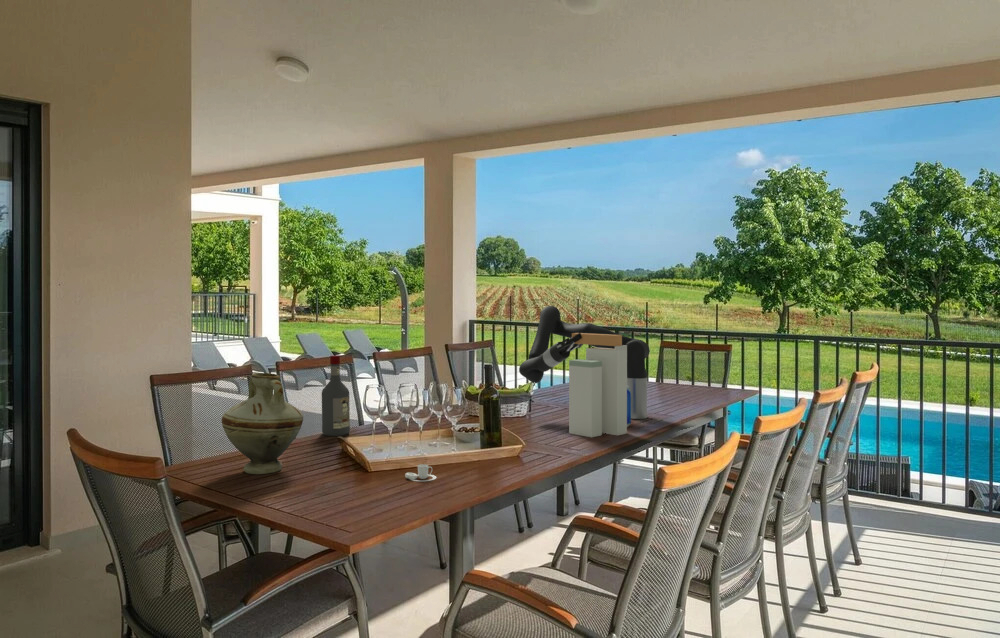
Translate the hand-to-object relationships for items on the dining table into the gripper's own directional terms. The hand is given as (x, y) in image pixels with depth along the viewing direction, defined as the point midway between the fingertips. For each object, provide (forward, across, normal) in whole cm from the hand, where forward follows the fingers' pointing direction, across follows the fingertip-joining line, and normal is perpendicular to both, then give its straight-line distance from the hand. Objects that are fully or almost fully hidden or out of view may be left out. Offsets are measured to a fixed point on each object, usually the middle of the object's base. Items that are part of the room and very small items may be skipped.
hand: (584, 335), depth 286 cm
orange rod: (+4, 0, +6) cm, 7 cm away
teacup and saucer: (-7, -92, +39) cm, 100 cm away
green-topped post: (-11, -10, +36) cm, 39 cm away
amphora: (-41, -122, +19) cm, 130 cm away
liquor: (-70, -76, +2) cm, 104 cm away
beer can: (-12, +14, +36) cm, 40 cm away
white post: (-9, 0, +37) cm, 38 cm away
